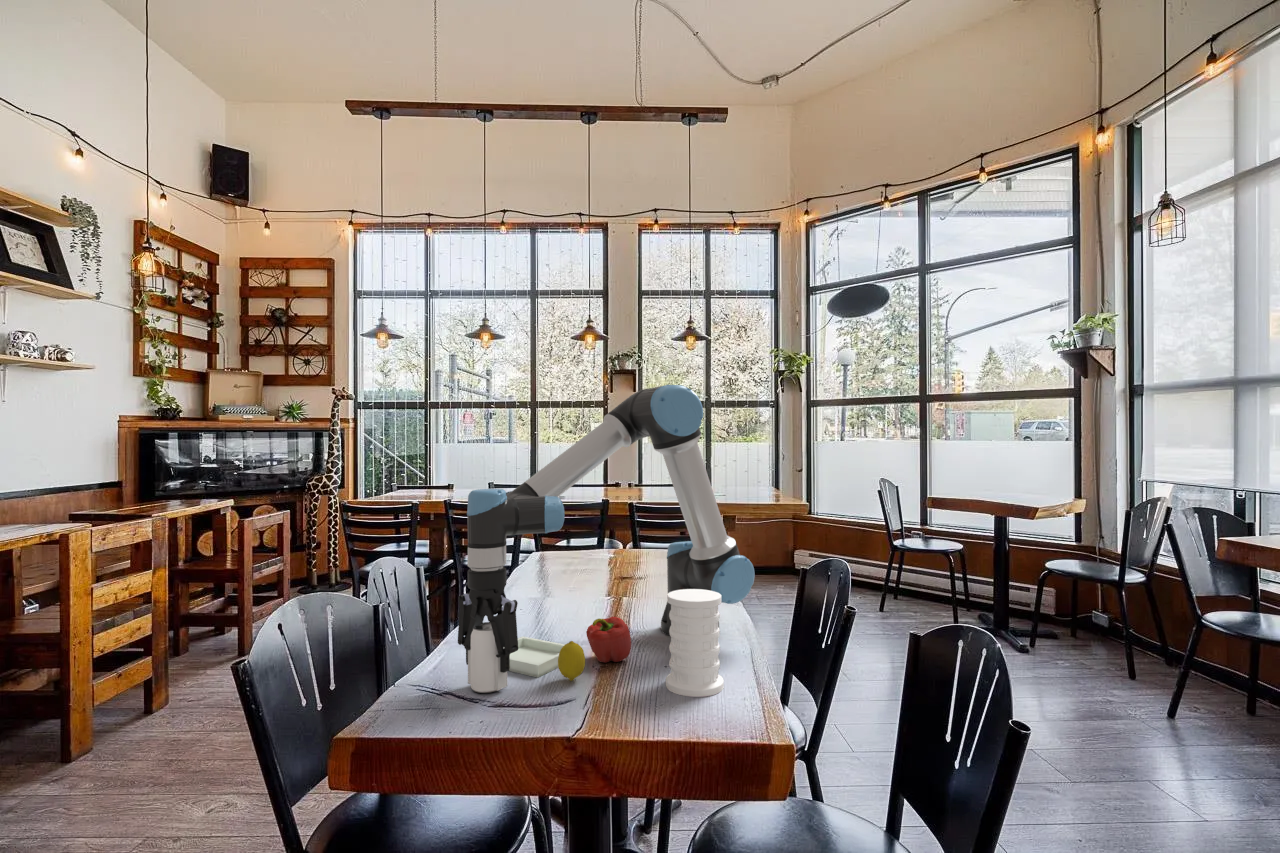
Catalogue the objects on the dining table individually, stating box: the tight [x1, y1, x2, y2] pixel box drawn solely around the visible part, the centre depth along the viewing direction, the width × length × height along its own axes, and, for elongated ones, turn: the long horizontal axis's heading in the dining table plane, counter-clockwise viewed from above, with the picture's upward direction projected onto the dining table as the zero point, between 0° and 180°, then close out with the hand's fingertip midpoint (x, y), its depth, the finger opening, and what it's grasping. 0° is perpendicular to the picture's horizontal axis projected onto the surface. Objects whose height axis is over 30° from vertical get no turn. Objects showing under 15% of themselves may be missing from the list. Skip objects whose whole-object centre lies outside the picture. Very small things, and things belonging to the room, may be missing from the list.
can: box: [470, 621, 504, 694], centre depth 125 cm, size 6×6×12 cm
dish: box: [508, 636, 565, 678], centre depth 141 cm, size 16×14×2 cm
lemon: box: [558, 640, 586, 682], centre depth 129 cm, size 6×6×8 cm
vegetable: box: [585, 615, 632, 664], centre depth 141 cm, size 11×10×10 cm
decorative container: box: [665, 589, 725, 698], centre depth 126 cm, size 12×12×18 cm
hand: (487, 684), depth 124 cm, fingers closed on can, 6 cm apart
